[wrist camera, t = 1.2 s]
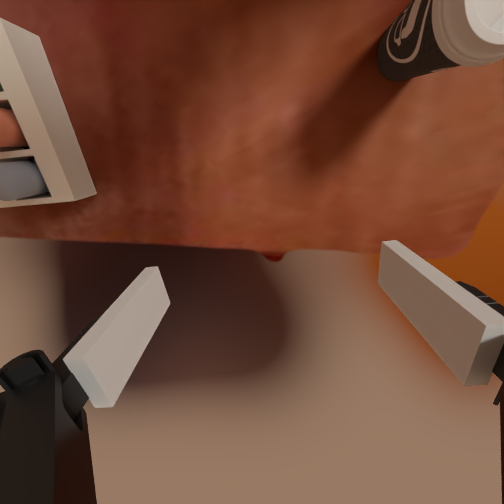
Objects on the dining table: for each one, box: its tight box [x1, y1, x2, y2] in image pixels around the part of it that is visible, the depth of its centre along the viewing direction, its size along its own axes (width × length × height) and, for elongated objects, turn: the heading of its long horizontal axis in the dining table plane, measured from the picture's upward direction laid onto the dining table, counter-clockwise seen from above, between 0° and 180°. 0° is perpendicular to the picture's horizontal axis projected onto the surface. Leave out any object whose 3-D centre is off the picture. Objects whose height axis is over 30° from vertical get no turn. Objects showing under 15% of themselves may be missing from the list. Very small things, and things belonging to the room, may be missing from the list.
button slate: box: [0, 160, 50, 201], centre depth 32 cm, size 5×5×6 cm
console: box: [0, 18, 97, 208], centre depth 32 cm, size 20×12×5 cm, turn 5°
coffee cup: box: [377, 0, 504, 81], centre depth 23 cm, size 10×10×15 cm
